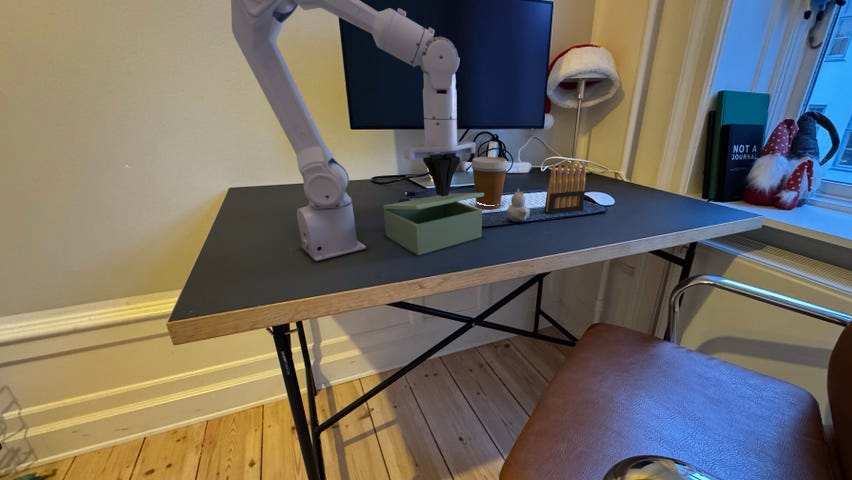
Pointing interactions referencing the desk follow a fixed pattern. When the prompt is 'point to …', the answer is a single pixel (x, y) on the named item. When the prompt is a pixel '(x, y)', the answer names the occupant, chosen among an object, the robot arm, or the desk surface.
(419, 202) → the box lid
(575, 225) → the desk surface
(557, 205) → the ammunition clip
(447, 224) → the box
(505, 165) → the disposable coffee cup
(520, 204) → the grey gourd
